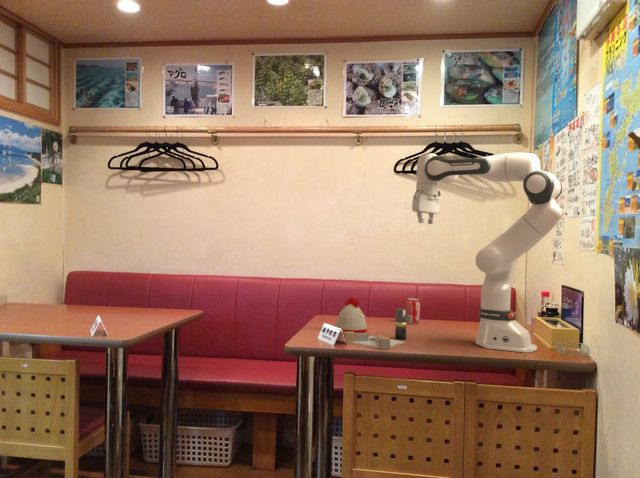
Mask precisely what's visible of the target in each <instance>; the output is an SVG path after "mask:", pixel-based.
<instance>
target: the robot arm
mask: <svg viewBox="0 0 640 478" xmlns="http://www.w3.org/2000/svg"><path fill="white" fill-rule="evenodd" d="M460 176H475V177H480V178H483V179H487V180H490V181H495V182H507V183H509V182H521V183H522V186H523V187H522V188H523V191H524V193H525V195H526V196H527V199H528V200H529V202H530V204H532V205H531V206H530V208H529V209H528V210H527V211H526V212H525V213H524V214H523V215H522V216H520V218H518V219H517V220H516V221H515V222H514V223H513V224H512V225H511V226H510V227H509V228H507V230H505V231H504V232H503V233H502V234H500V235H498V237H496V238H494V239H493V240H492V241H491V242H489V243H488V244H487V245H486V246H484V248H481V249H480V250H479V251H478V252H477V253H476V255H475V259H474V260H475V265H476V267H477V269H479V270H480V271H481V272H483V273H484V274H485V275H484V280H483V283H482V285H481V288H480V307H479V312H478V320H479V321H478V322H479V327H478V334H477V336H476V340H475V344H476V345H477V346H479V347H480V346H481V347H482V348H485V349H488V350H489V349H490V350H499V351H508V352H509V351H510V352H517V353H527V354H528V353H533V352H535V351H537V350H538V346H537V345H536V344H534V343H533V344H532V340H531V339H532V338H531V334H530V332H529V331H528V329H526V328H525V327H524V326H522V325H521V324H520V323H519V322H518V321H517V320H516V315H517V312H515V311H513V310H512V309H511V298H512V297H511V296H512V294H511V293H512V284H513V282H514V281H513V280H514V275H515V267H516V265H517V260H518V258H520V257H522V256H523V255H524V254H526V253H527V252H529V251H531V249H532V248H533V247H535V246H536V245H537V244H538V243H539V242H540V241H541V240H542V239H543V238H544V237H546V235H548V234H549V233H550V232H551V231H552V230H553V229H554V227H555V226H556V225H557V224H558V223H559V221H560V220H561V219H562V217H563V211H562V209H561V207H560V206H559V204H557V203H556V200H557V199H558V198H559V197H560V196H561V195H562V192H563V185H562V182H561V181H560V179H559V178H558V177H556V176H555V175H554V174H553V173H551V172H548V171H546V170H542V169H541V162H540V159H539V157H538V156H537V155H536V154H534V153H528V152H508V153H499V154H494V155H487V156H482V157H475V158H460V159H459V158H458V159H450V158H449V159H447V158H444V157H442V156H439V155H437V154H436V153H433V152H430V153H423V154H421V155H420V156H419V157H418V160H417V164H416V178H417V181H416V183H415V184H416V185H415V186H416V188H415V189H416V190H415V191H414V194H413V196H412V203H411V210H412V212H414V213H416V216H417V219H418V221H417V222H418V223H419V224H423V223H424V217H423V215H424V214H428V217H429V218H428V220H427V224H428V225H433V224H434V220H435V217H436V216H435V215H439V214H440V210H441V197H442V192H441V191H440V189H439V188H438V183H443V184H452V183H454V182H456V181H457V179H458V178H459V177H460Z"/></svg>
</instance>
